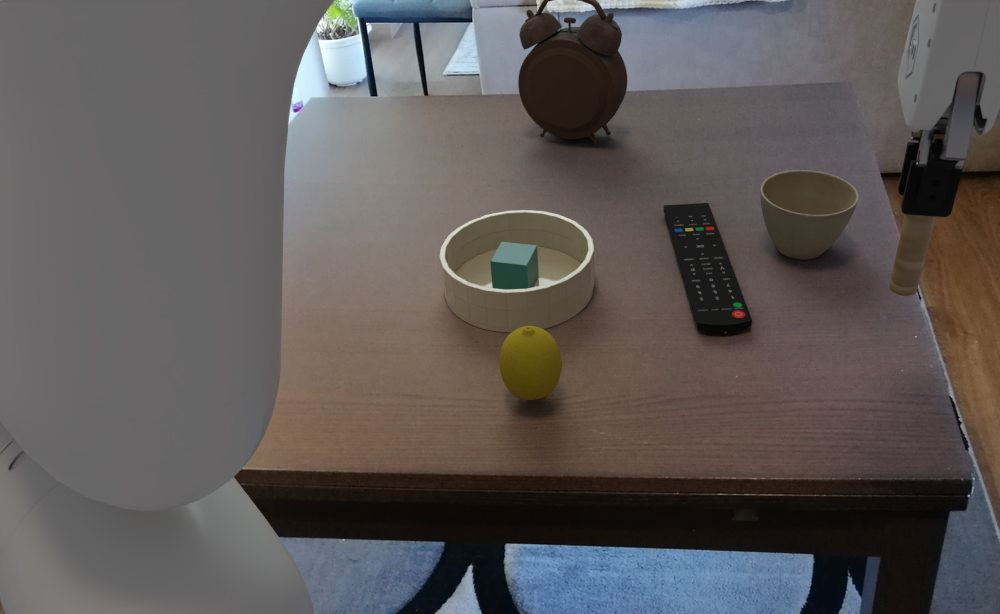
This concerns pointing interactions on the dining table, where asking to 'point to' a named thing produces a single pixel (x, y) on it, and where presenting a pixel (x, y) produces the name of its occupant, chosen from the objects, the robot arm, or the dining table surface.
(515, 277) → the block
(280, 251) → the robot arm
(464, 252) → the bowl
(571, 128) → the alarm clock
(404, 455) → the dining table surface
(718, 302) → the remote control
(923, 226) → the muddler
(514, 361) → the lemon
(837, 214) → the flower pot
